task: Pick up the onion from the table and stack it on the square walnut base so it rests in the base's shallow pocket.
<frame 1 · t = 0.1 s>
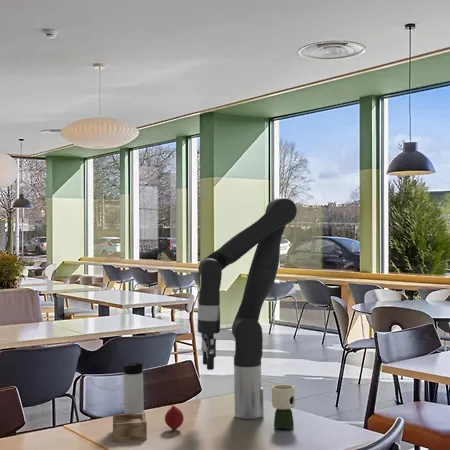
hand: (208, 367, 216), 17 cm above the table, tool pointing down, fingers open, 8 cm apart
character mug: (283, 428, 204), on the table
onion: (174, 430, 204), on the table
travel mug: (134, 424, 211), on the table
base: (129, 435, 199), on the table
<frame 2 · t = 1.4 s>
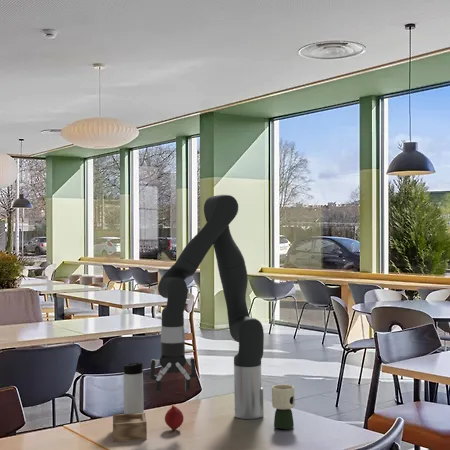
hand: (173, 391, 204), 12 cm above the table, tool pointing down, fingers open, 8 cm apart
nothing on the table moved.
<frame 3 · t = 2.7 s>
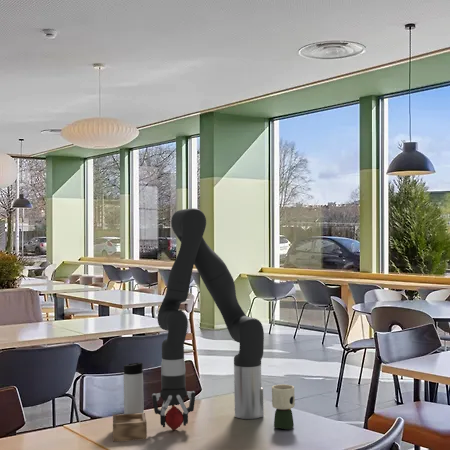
hand: (174, 425, 204), 1 cm above the table, tool pointing down, fingers closed on onion, 6 cm apart
onion: (174, 430, 204), on the table, touching gripper
everything else where it was.
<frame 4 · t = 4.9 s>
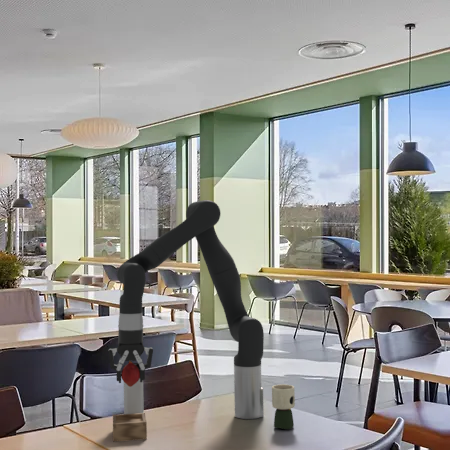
hand: (130, 381, 199), 16 cm above the table, tool pointing down, fingers closed on onion, 6 cm apart
onion: (130, 387, 199), point 15 cm above the table, touching gripper
everything else where it was.
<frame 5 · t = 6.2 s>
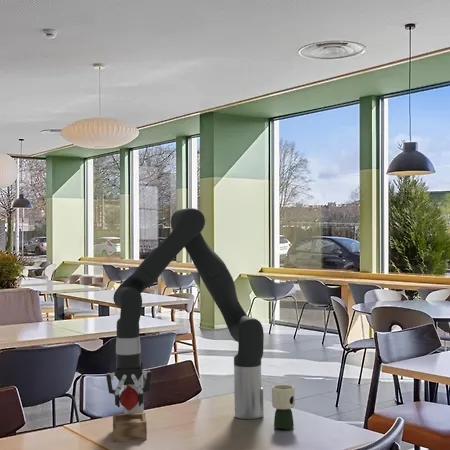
hand: (129, 405, 199), 9 cm above the table, tool pointing down, fingers closed on onion, 6 cm apart
onion: (129, 411, 199), point 7 cm above the table, touching gripper
everything else where it was.
when the fingers open (7 cm above the table, at t = 7.1 s): onion drops 1 cm, resting on base.
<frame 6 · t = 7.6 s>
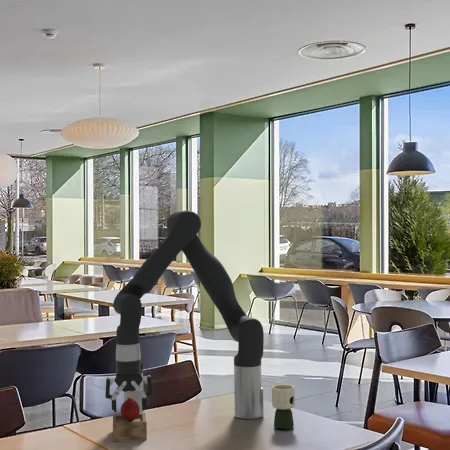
hand: (129, 410, 199), 8 cm above the table, tool pointing down, fingers open, 8 cm apart
onion: (130, 422, 199), point 4 cm above the table, touching base
everything else where it was.
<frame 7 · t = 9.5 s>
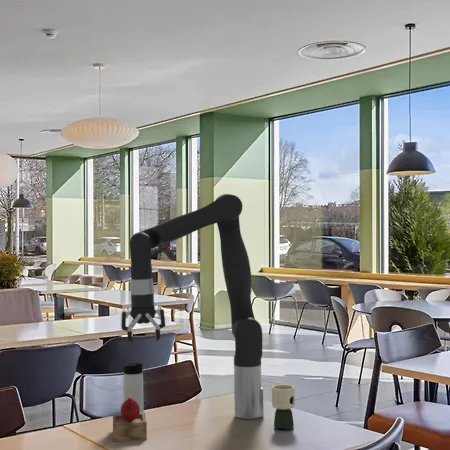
hand: (144, 341, 213), 26 cm above the table, tool pointing down, fingers open, 8 cm apart
nothing on the table moved.
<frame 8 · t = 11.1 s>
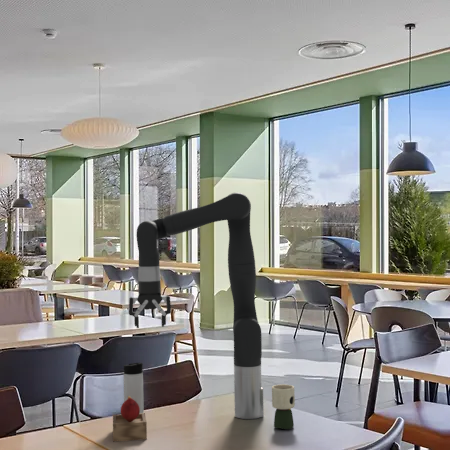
hand: (150, 327, 221), 30 cm above the table, tool pointing down, fingers open, 8 cm apart
nothing on the table moved.
at the end: onion inside the target area on the base (0.3 cm from its centre), point 3.8 cm above the base's base; the gripper is holding nothing; onion touching base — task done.
